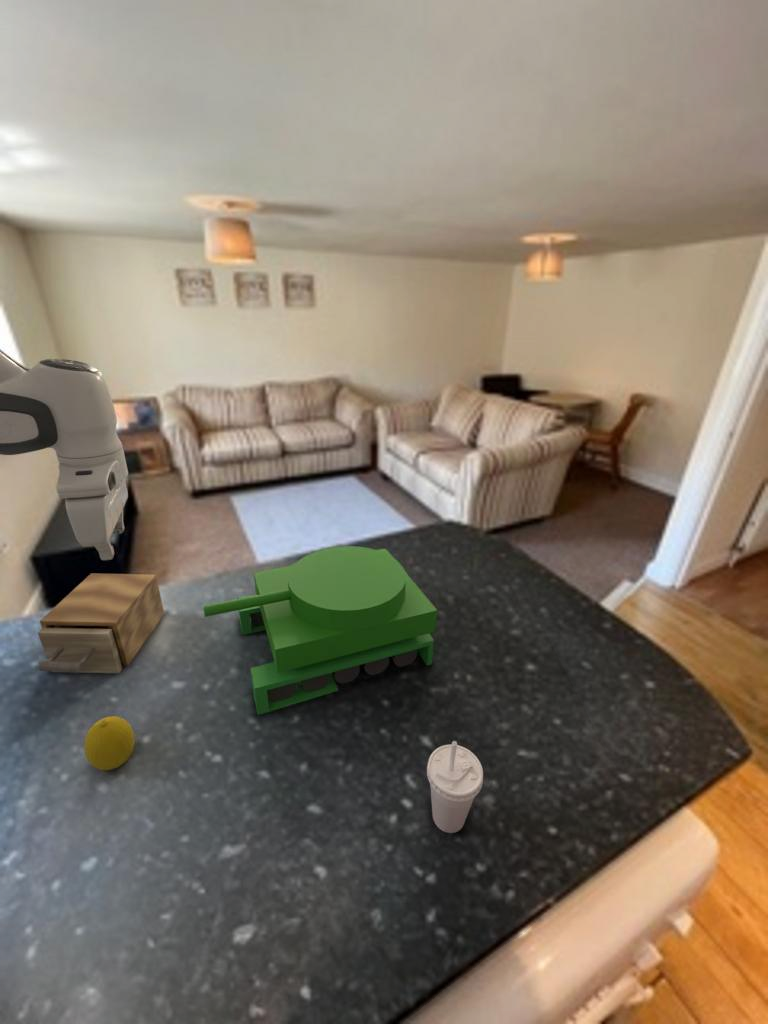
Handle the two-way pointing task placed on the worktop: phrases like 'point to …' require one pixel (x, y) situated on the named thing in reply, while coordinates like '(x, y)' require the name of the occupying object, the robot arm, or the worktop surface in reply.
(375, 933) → the worktop surface
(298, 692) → the tank
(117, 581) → the cabinet
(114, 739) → the lemon
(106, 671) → the drawer
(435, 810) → the smoothie
